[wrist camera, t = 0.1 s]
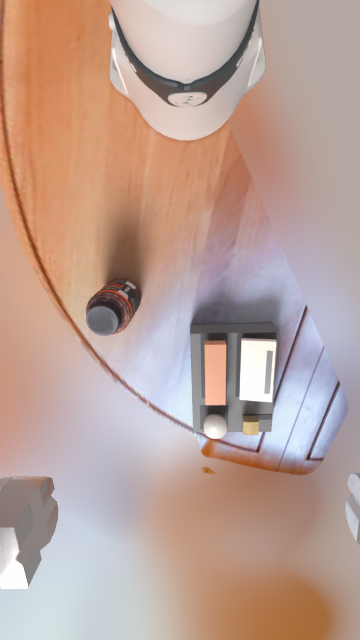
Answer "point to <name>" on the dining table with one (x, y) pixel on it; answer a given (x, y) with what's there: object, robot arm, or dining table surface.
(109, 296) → the supplement bottle
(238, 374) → the panel
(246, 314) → the dining table surface
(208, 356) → the terracotta button
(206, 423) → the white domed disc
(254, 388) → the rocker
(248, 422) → the slider knob
